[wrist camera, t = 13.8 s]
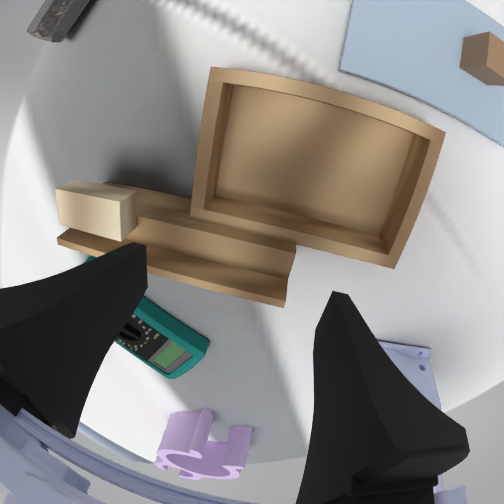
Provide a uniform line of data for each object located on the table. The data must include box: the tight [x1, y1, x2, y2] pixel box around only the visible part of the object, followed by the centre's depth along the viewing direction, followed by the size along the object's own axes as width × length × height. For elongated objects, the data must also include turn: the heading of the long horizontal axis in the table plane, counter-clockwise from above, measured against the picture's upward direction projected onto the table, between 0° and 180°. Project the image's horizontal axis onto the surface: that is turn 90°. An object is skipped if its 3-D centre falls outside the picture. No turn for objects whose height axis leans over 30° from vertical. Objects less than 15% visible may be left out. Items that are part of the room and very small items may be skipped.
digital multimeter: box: [83, 256, 209, 379], centre depth 26 cm, size 7×15×3 cm, turn 51°
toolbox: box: [57, 67, 446, 308], centre depth 15 cm, size 22×11×6 cm, turn 80°
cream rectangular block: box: [56, 180, 136, 242], centre depth 15 cm, size 5×2×2 cm, turn 80°
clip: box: [155, 408, 253, 480], centre depth 37 cm, size 20×12×7 cm, turn 148°
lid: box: [338, 0, 504, 147], centre depth 10 cm, size 13×9×5 cm
